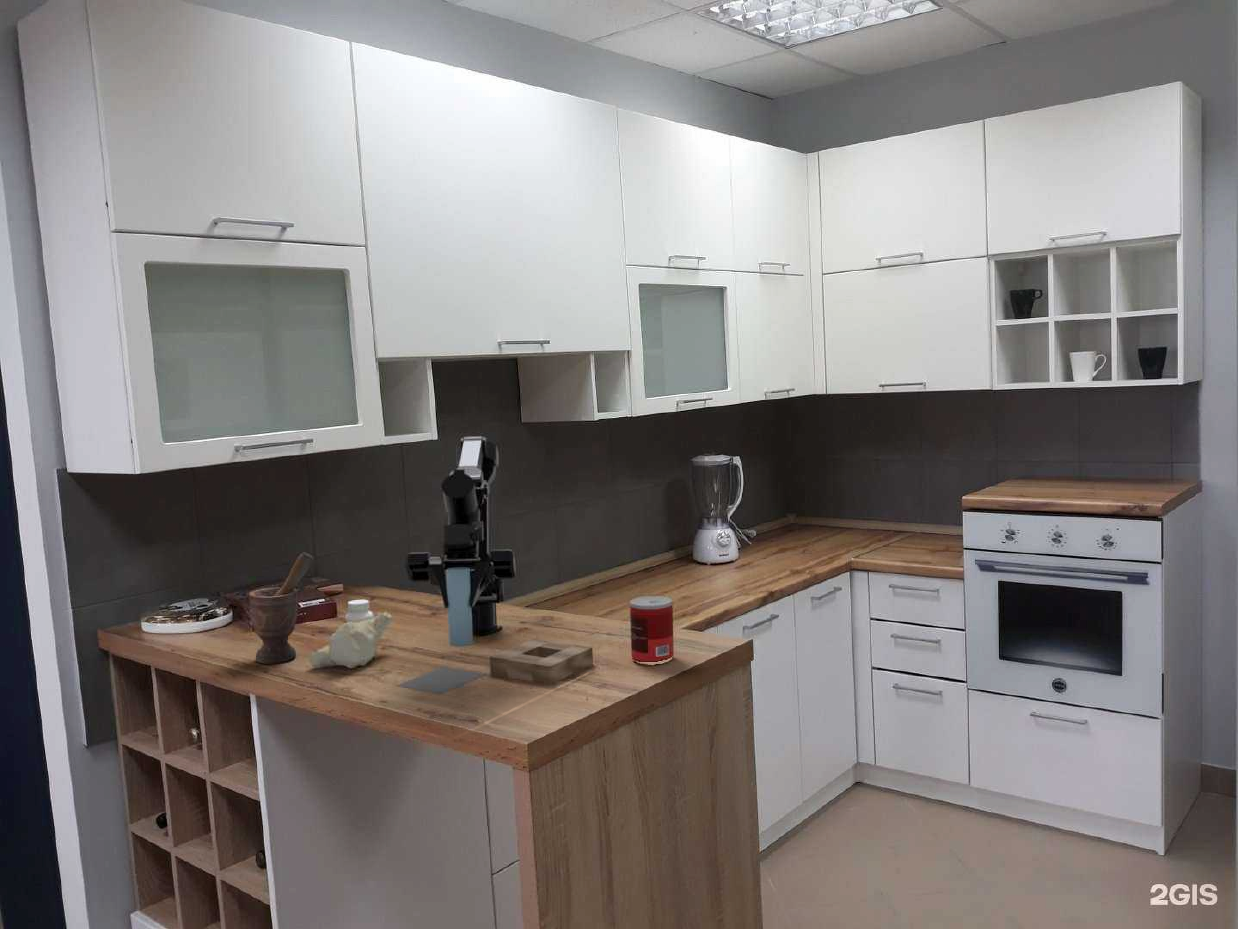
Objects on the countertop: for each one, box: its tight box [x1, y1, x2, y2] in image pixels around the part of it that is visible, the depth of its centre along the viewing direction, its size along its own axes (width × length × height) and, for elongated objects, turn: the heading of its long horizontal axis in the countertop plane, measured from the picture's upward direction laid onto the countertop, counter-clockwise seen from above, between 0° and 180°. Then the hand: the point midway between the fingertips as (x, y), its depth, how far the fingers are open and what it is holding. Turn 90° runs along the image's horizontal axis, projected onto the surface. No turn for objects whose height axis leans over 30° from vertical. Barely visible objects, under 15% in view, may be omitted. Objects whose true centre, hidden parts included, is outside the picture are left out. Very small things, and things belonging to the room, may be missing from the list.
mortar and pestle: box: [248, 552, 314, 665], centre depth 190 cm, size 12×9×20 cm
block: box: [489, 638, 594, 686], centre depth 177 cm, size 13×13×4 cm
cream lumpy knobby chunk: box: [308, 611, 394, 669], centre depth 185 cm, size 15×7×15 cm
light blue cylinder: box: [445, 567, 474, 648], centre depth 172 cm, size 4×4×13 cm
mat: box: [395, 666, 487, 695], centre depth 173 cm, size 12×10×1 cm
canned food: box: [629, 595, 675, 662], centre depth 182 cm, size 8×8×11 cm
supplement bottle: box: [344, 599, 375, 624], centre depth 194 cm, size 5×5×10 cm
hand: (458, 606), depth 170 cm, fingers closed on light blue cylinder, 4 cm apart
